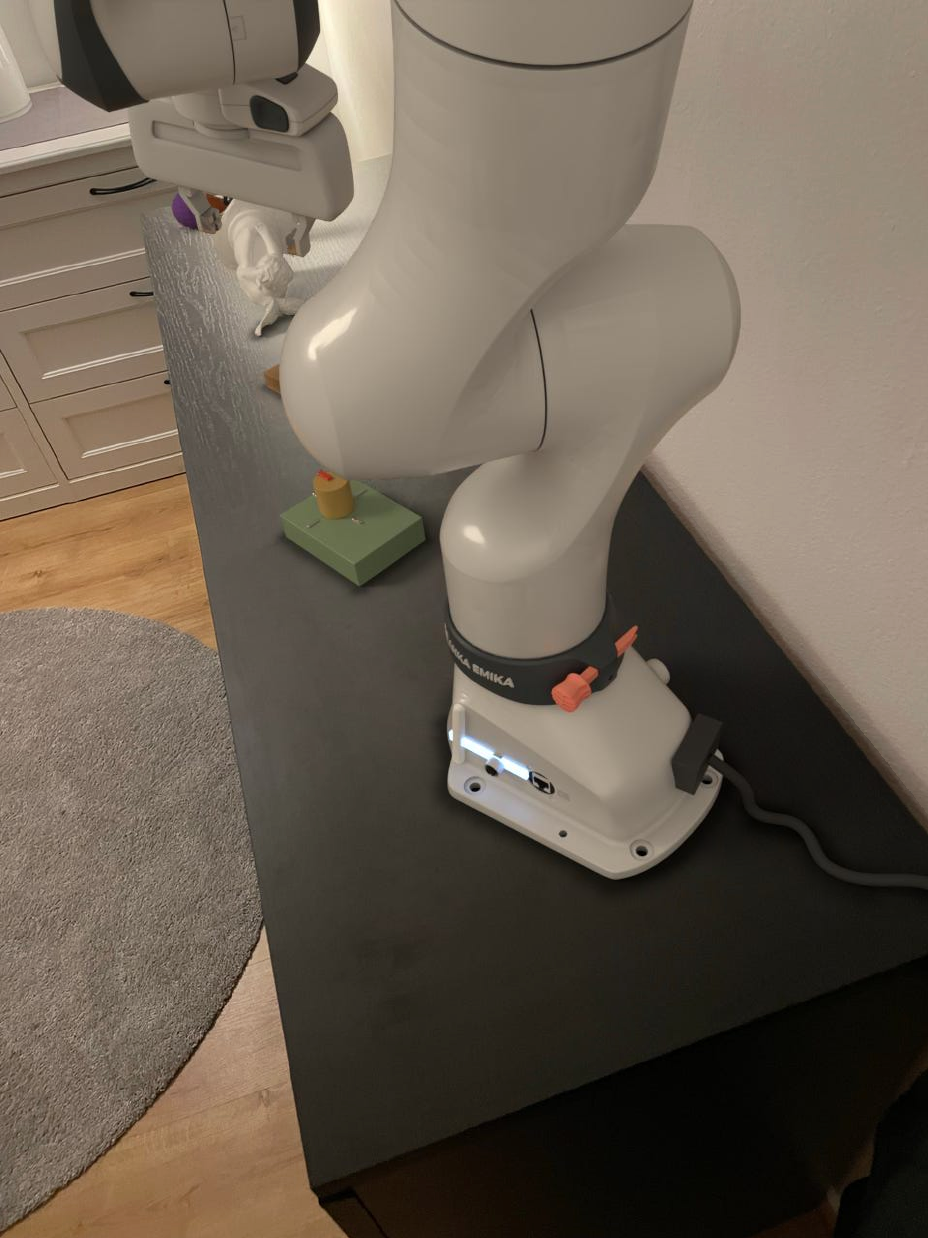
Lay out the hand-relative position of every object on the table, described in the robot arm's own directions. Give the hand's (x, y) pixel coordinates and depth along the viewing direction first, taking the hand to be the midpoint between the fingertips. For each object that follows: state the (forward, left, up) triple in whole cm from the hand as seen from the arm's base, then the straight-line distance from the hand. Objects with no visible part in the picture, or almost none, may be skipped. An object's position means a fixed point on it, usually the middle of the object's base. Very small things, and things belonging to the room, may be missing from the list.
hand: (254, 241), depth 82 cm
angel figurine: (+38, -23, -26) cm, 52 cm away
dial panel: (-13, +5, -26) cm, 30 cm away
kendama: (+72, -39, -26) cm, 86 cm away
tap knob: (-11, +5, -23) cm, 26 cm away
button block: (+14, -12, -26) cm, 32 cm away
